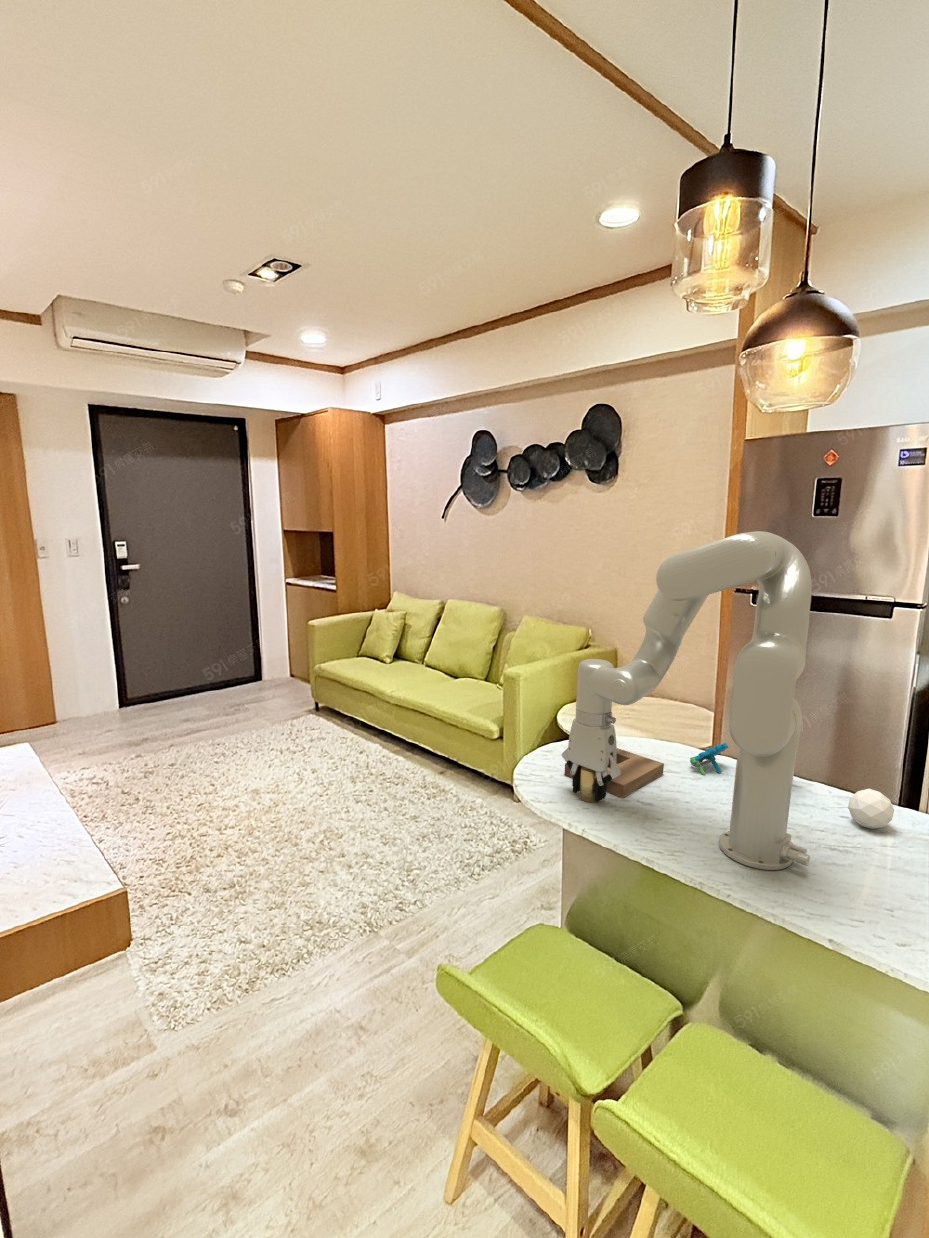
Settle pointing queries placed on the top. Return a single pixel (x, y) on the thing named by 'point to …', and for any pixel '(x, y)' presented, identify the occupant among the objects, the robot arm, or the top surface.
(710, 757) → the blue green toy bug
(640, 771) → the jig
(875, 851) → the top surface
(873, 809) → the geometric ball
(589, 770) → the brass cylinder
